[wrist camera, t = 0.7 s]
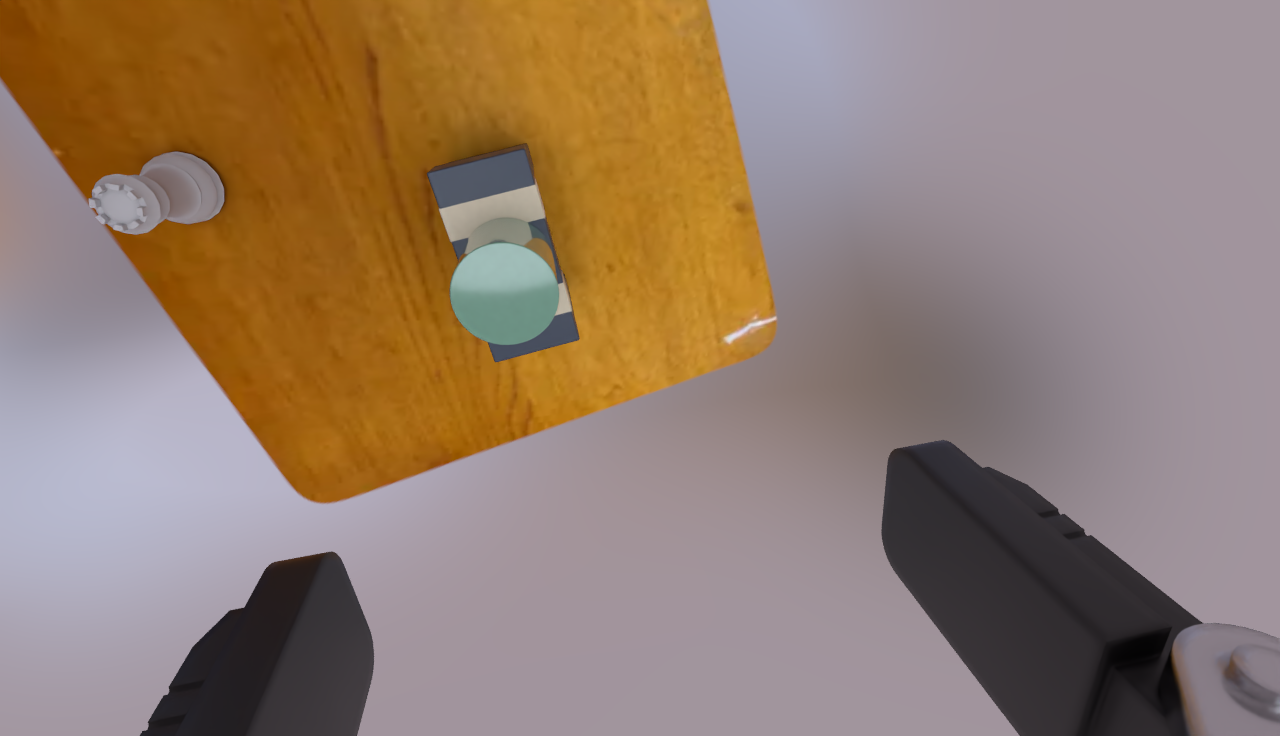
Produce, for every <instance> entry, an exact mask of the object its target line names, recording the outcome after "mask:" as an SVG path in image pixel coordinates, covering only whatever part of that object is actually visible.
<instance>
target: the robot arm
mask: <svg viewBox="0 0 1280 736" xmlns="http://www.w3.org/2000/svg"><path fill="white" fill-rule="evenodd" d="M882 540H883V545H884V549H885V552H886V555H887V558H888V560H889V562H890V564H891V566H892V568H893V570H894V571H895V572H896V574H897V575H898V577H899V578H900V579H901V581H902V582H903V583H904V584H905V586H906V587H907V588H908V590H909V591H910V592H911V593H912V595H913V596H914V598H915V599H916V600H917V601H918V603H919V604H920V605H921V607H922V608H923V609H924V611H925V612H926V613H927V615H928V616H929V617H930V619H931V620H932V621H933V622H934V624H935V625H936V626H937V628H938V629H939V630H940V632H941V633H942V634H943V636H944V637H945V638H946V639H947V641H948V642H949V643H950V645H951V646H952V647H953V649H954V650H955V651H956V653H957V654H958V655H959V657H960V658H961V659H962V661H963V662H964V663H965V664H966V666H967V667H968V668H969V670H970V671H971V672H972V674H973V675H974V676H975V677H976V679H977V680H978V681H979V683H980V684H981V685H982V687H983V688H984V689H985V691H986V692H987V693H988V695H989V696H990V697H991V698H992V700H993V701H994V702H995V704H996V705H997V706H998V708H999V709H1000V710H1001V712H1002V713H1003V714H1004V716H1005V717H1006V718H1007V719H1008V721H1009V722H1010V723H1011V725H1012V726H1013V727H1014V728H1015V730H1016V731H1017V733H1018V734H1019V735H1020V736H1280V639H1279V638H1277V637H1274V636H1271V635H1268V634H1266V633H1263V632H1260V631H1256V630H1253V629H1249V628H1246V627H1240V626H1236V625H1230V624H1219V623H1207V624H1203V623H1202V622H1201V621H1199V620H1198V619H1196V618H1195V617H1194V616H1193V615H1191V614H1190V613H1189V612H1188V611H1186V610H1185V609H1184V608H1182V607H1181V606H1180V605H1179V604H1177V603H1176V602H1175V601H1174V600H1172V599H1171V598H1170V597H1169V596H1167V595H1166V594H1165V593H1163V592H1162V591H1161V590H1160V589H1158V588H1157V587H1156V586H1155V585H1153V584H1152V583H1151V582H1150V581H1148V580H1147V579H1146V578H1145V577H1143V576H1142V575H1141V574H1140V573H1138V572H1137V571H1136V570H1134V569H1133V568H1132V567H1131V566H1129V565H1128V564H1127V563H1126V562H1124V561H1123V560H1122V559H1121V558H1119V557H1118V556H1117V555H1116V554H1114V553H1113V552H1112V551H1110V550H1109V549H1108V548H1107V547H1105V546H1104V545H1103V544H1102V543H1100V542H1099V541H1098V540H1097V539H1095V538H1094V537H1093V536H1091V535H1090V536H1087V535H1085V532H1084V529H1083V528H1081V527H1080V526H1079V525H1077V524H1076V523H1075V522H1074V521H1072V520H1071V519H1070V518H1069V517H1067V516H1066V515H1065V514H1062V515H1060V514H1059V512H1058V509H1057V508H1056V507H1055V506H1054V505H1052V504H1051V503H1050V502H1048V501H1047V500H1046V499H1045V498H1043V497H1042V496H1041V495H1040V494H1038V493H1037V492H1036V491H1035V490H1033V489H1032V488H1031V487H1029V486H1028V485H1027V484H1024V483H1022V482H1020V481H1018V480H1016V479H1014V478H1012V477H1009V476H1007V475H1005V474H1003V473H1001V472H999V471H996V470H994V469H992V468H990V467H985V468H982V467H980V466H979V465H978V464H977V463H976V462H974V461H973V460H972V459H971V458H969V457H968V456H967V455H966V454H965V453H963V452H962V451H961V450H960V449H959V448H957V447H956V446H955V445H954V444H952V443H951V442H949V441H945V440H941V441H935V442H930V443H924V444H919V445H914V446H908V447H903V448H897V449H895V450H893V451H892V452H891V454H890V456H889V459H888V465H887V476H886V486H885V497H884V509H883V519H882ZM373 665H374V649H373V641H372V636H371V632H370V629H369V627H368V624H367V621H366V619H365V616H364V614H363V611H362V609H361V606H360V604H359V602H358V599H357V596H356V594H355V592H354V589H353V586H352V584H351V582H350V579H349V577H348V574H347V571H346V569H345V567H344V564H343V562H342V560H341V558H340V557H339V556H338V555H337V554H336V553H335V552H326V553H321V554H316V555H310V556H305V557H300V558H294V559H288V560H284V561H278V562H274V563H272V564H270V565H269V566H268V567H267V568H266V569H265V571H264V573H263V574H262V576H261V578H260V580H259V582H258V584H257V586H256V587H255V589H254V591H253V593H252V595H251V596H250V598H249V600H248V602H247V604H246V606H245V607H244V608H241V609H235V610H230V611H229V612H228V613H227V614H226V615H225V616H224V617H223V618H222V619H221V620H220V621H219V622H218V623H217V624H216V625H215V626H214V627H213V628H212V629H211V630H209V632H207V633H206V634H205V635H204V637H202V638H201V639H200V640H199V642H197V643H196V644H195V645H194V646H193V647H192V649H191V651H190V653H189V654H188V656H187V658H186V659H185V661H184V663H183V664H182V666H181V668H180V669H179V671H178V673H177V674H176V676H175V678H174V679H173V681H172V683H171V684H170V686H169V694H168V695H164V696H163V698H162V699H161V701H160V703H159V704H158V706H157V708H156V709H155V711H154V713H153V714H152V716H151V718H150V719H149V721H148V723H149V727H148V730H146V731H142V733H141V735H140V736H357V733H358V730H359V726H360V722H361V718H362V714H363V711H364V707H365V703H366V699H367V695H368V692H369V688H370V684H371V680H372V674H373Z"/></svg>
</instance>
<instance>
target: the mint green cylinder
mask: <svg viewBox="0 0 1280 736" xmlns="http://www.w3.org/2000/svg"><path fill="white" fill-rule="evenodd" d="M450 300H451V305H452V308H453V311H454V313H455V315H456V317H457V318H458V320H459V321H460V323H461V324H462V325H463V326H464V327H465V328H466V329H467V330H468V331H469V332H470V333H472V334H473V335H474V336H476V337H478V338H480V339H482V340H484V341H487V342H490V343H493V344H499V345H514V344H519V343H523V342H526V341H529V340H531V339H533V338H535V337H536V336H538V335H539V334H541V333H542V332H543V331H544V330H545V329H546V328H547V327H548V326H549V324H550V323H551V321H552V320H553V318H554V316H555V314H556V311H557V308H558V304H559V286H558V280H557V274H556V267H555V261H554V255H553V251H552V248H551V246H550V244H549V242H548V240H547V239H546V237H545V236H544V235H543V234H542V233H541V232H540V231H539V230H538V229H537V228H536V227H534V226H533V225H531V224H529V223H527V222H525V221H523V220H520V219H515V218H497V219H493V220H490V221H487V222H485V223H483V224H482V225H480V226H479V227H478V228H476V229H475V230H474V231H473V232H472V234H471V235H470V236H469V238H468V239H467V241H466V243H465V246H464V248H463V251H462V253H461V256H460V258H459V261H458V263H457V265H456V268H455V270H454V273H453V275H452V279H451V283H450Z"/></svg>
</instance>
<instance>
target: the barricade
mask: <svg viewBox="0 0 1280 736" xmlns="http://www.w3.org/2000/svg"><path fill="white" fill-rule="evenodd" d="M427 176H428V178H429V181H430V184H431V187H432V189H433V192H434V195H435V198H436V200H437V203H438V206H439V212H440V214H441V217H442V220H443V223H444V225H445V228H446V231H447V234H448V236H449V239H450V241H451V242H452V245H453V247H454V250H455V253H456V256H457V259H458V261H459V258H460V256H461V253H462V251H463V248H464V246H465V243H466V241H467V239H468V238H469V236H470V235H471V234H472V232H473V231H474V230H475V229H476V228H478V227H479V226H480V225H482V224H483V223H485V222H487V221H490V220H493V219H497V218H515V219H520V220H523V221H525V222H527V223H529V224H531V225H533V226H534V227H536V228H537V229H538V230H539V231H540V232H541V233H542V234H543V235H544V236H545V237H546V239H547V240H548V242H549V244H550V246H551V248H552V251H553V255H554V261H555V267H556V274H557V280H558V286H559V304H558V308H557V311H556V314H555V316H554V318H553V320H552V321H551V323H550V324H549V326H548V327H547V328H546V329H545V330H544V331H543V332H542V333H541V334H539V335H538V336H536V337H535V338H533V339H531V340H529V341H526V342H523V343H519V344H514V345H499V344H493V343H490V342H488V344H489V347H490V350H491V353H492V355H493V358H494V361H495V362H499V361H503V360H506V359H510V358H514V357H518V356H521V355H525V354H529V353H532V352H536V351H540V350H543V349H547V348H551V347H555V346H558V345H562V344H566V343H569V342H573V341H577V340H579V334H578V329H577V324H576V321H575V317H574V312H573V307H572V302H571V297H570V293H569V289H568V285H567V282H566V278H565V275H564V274H563V272H562V270H561V268H560V265H559V261H558V258H557V254H556V251H555V247H554V244H553V240H552V237H551V233H550V230H549V226H548V223H547V219H546V216H545V211H544V206H543V202H542V199H541V195H540V192H539V188H538V185H537V181H536V178H535V177H534V167H533V162H532V159H531V155H530V152H529V148H528V145H527V144H522V145H518V146H514V147H510V148H506V149H502V150H498V151H494V152H490V153H486V154H482V155H478V156H474V157H470V158H466V159H462V160H458V161H454V162H450V163H447V164H443V165H439V166H435V167H434V168H433V169H431V170H430V171H429V172H428V173H427Z"/></svg>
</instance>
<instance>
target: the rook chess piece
mask: <svg viewBox="0 0 1280 736" xmlns="http://www.w3.org/2000/svg"><path fill="white" fill-rule="evenodd" d="M223 203H224V187H223V185H222V183H221V181H220V178H219V176H218V174H217V173H216V172H215V171H214V170H213V169H212V168H211V167H210V166H209V165H208V164H207V163H206V162H205V161H203V160H201V159H199V158H197V157H196V156H194V155H192V154H187V153H182V152H177V151H176V152H171V153H165V154H162V155H160V156H156V157H154V158H153V159H151V160H150V161H149V162H147V163H146V164H145V165H144V166H143V168H142V170H141V173H140V175H131V176H126V175H121V174H114V175H108V176H104V177H103V178H102V179H100V180H99V181H98V182H97V183H96V184H95V186H94V189H93V190H92V198H89V207H90V208H95V209H96V211H97V213H98V214H99V215H98V216H96V217H95V218H96V219H97V220H98V221H100V222H101V223H102V224H108V225H109V226H111V227H113V230H118V231H121V232H123V233H129V234H141V233H147V232H149V231H150V230H151V229H153V228H154V227H156V226H157V224H158V223H160V222H162V221H163V220H165V219H168V220H169V221H173V222H178V223H184V224H192V223H197V222H202V221H206V220H210V219H211V218H212V217H214V216H215V215H216V214H218V213H219V212H220V209H221V207H222V205H223Z"/></svg>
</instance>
